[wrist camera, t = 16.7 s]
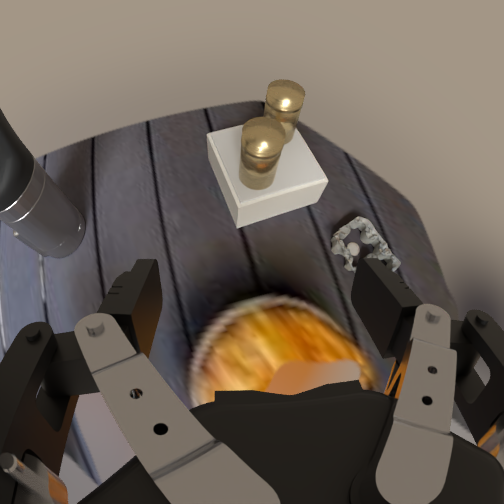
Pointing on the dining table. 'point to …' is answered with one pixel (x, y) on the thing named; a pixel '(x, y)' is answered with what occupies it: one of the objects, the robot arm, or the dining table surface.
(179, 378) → the dining table surface
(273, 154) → the disc
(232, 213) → the scale
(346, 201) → the dining table surface
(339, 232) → the grey piece
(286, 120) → the cylinder
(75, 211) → the robot arm
